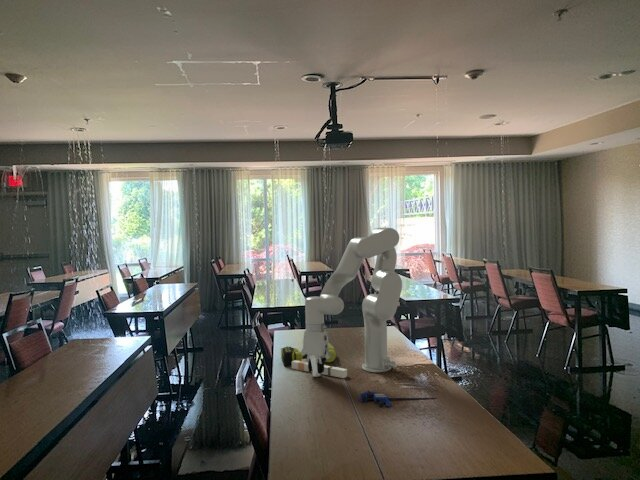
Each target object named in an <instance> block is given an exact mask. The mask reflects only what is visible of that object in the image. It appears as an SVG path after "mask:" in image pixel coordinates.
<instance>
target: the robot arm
mask: <svg viewBox="0 0 640 480" xmlns="http://www.w3.org/2000/svg"><path fill="white" fill-rule="evenodd" d="M399 242H400V234H399V232H398V231H397V230H396V229H395V228H392V227H376V228H373V229H372V230H371V231H370V233H369V236H365V237H361V236H360V237H353V238H352V239H350V241H349V242H348V244H347V246H346V248H345V251H344V253H343V255H342V257H341V259H340V262H339V263H338V265H337V268H336V269H335V271H333V273H332V274H331V276H330V277H329V278H328V279H327V281H326V282H325V285H324V286H323V288H322V289H321V292H320V295H319V296H317V295H316V296H315V295H314V296H307V297H306V298H305V300H304V307H305V308H304V309H305V310H304V312H305V313H304V314H305V330H304V333H303V339H302V340H303V342H302V343H303V344H302V349H301V351H300V352H301V354H302V355H303V356H304V357H305V358H306V359H305V360H306V362H308V369H309V373H312V372H311V371H312V367H311V362H310V357H309V356H310V355H314V356H318V359H319V364H318V373H319V374H321V373H322V372H324V365H325V363H326V362H325V361H326V360H327V359H329V358H330V357H331V355H330V353H329V343H330V342H329V337H328V332H327V328H328V327H327V325H325V315H331V316H333V315H339V314H340V313H342V312H343V310H344V308H345V303H344V300H343V299H342V298H341V297H339V294H340V293H341V290H342V289H343V287H345V285H347V284H349V283H350V282H352V281H353V280H355V278H356V277H357V275H358V273H359V270H360V268H361V266H362V263H363V261H364V260H365V259H370V258H374V257H376V259H375V260H376V261H375V264H374V269H373V273H372V275H371V281H370V284H371V288H372V289H373V290H375V291H376V292H378V293H370V294H368V295H366V296H365V297H364V298H363V300H362V303H361V310H362V316H363V325H364V362H363V363H362V364H361V369H362V370H364V371H365V372H368V373H385V372H389V371H390V370H391V369H392V368H397V363H396V361H394V360H391V358H390V356H388V326H387V321H389V320H391V319H393V317H394V316H395V314H396V312H397V309H398V305H399V301H400V298H401V293H402V290H403V280H402V278H401V275H400V274H399V273H397V272H395V269H396V266H397V259H398V258H397V256H398V255H397V250H396V248H395V247H396V246H397V245H398V244H399ZM328 342H329V343H328ZM324 354H326V357H324ZM321 375H322V374H321Z"/></svg>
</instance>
